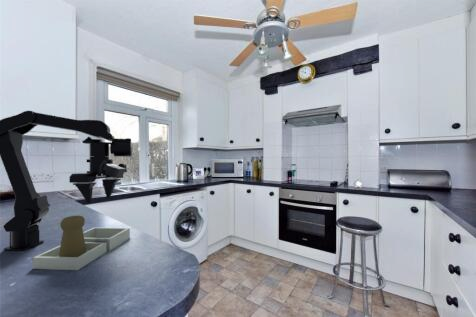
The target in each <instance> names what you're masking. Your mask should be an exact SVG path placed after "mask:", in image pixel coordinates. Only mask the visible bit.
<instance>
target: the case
mask: <svg viewBox="0 0 476 317" xmlns="http://www.w3.org/2000/svg"><path fill="white" fill-rule="evenodd" d="M130 228H131V227H103V226H101V227H92V228H90V229H87V230H85V231H83V235H84V241H85V242H105V243H107V252H108V251H109V252H111V251H112V250H113V249H115V248H116V247H118V246H119V245H121V244H123V243H125V242H126V241H127V240H129V239H130V238H131V234H130V232H131V231H130V230H131V229H130Z"/></svg>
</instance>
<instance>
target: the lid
mask: <svg viewBox="0 0 476 317" xmlns="http://www.w3.org/2000/svg"><path fill="white" fill-rule="evenodd" d="M60 247H61V244H59V245H58V246H55V247H53V248H51V249H49V250H47V251H44V252H42V253H40V254H38V255H36V256H33V257H32V270H33V269H34V270H58V271H59V270H61V271H64V270H65V271H79V270H80V269H82V268H84V267H85V266H87V265H89V264H90V263H92V262H93V261H95V260H96V259H98V258H100V257H101V256H103V255H104V254H106V253H107V252H108V251H107V243H105V242H85V247H86V253H84V254H83V255H81V256H79V257H59V253H60Z"/></svg>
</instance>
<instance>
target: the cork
mask: <svg viewBox="0 0 476 317" xmlns="http://www.w3.org/2000/svg"><path fill="white" fill-rule="evenodd" d="M85 224H86V222H85V217H84V216H83V215H70V216H67V217H66V216H65V217H64V218H63V219H62V220H61V221H60V229H61V230H62V236H61V242H60V245H61V247H60V253H59V257H79V256H81V255H83V254H84V253H86V247H85V241H84V235H83V232H84V230H83V227H84V225H85Z"/></svg>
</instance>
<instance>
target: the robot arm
mask: <svg viewBox="0 0 476 317" xmlns="http://www.w3.org/2000/svg"><path fill="white" fill-rule="evenodd" d="M37 126H43V127H50V128H54V129H55V128H56V129H60V130H61V129H62V130H67V131H73V132H74V131H75V132H79V133H83V134H85V135H89V136H87V137H86V138H85V139H84V140H82V143H83V144H85V145H89V159H86V163H89V170H88V171H86V172H79V173H78V172H76V173H71V175H70V176H69V180H68V181H69V182H68V183H69V184H70V183H71V184H72V185H73V186H75V188H77V189H78V190H79V192H80V193H81V195H82V197H83V199H84V200H85V202H86V203H87V204H91V203H92V201H93V200H92V199H93V189H94V187H95V185H96V184H97V182H95V181H96V180H99V179H102V180H101V181H102V185H103V188H104V193H105V196H106V199H111V196H112V194H113V190H114V189H115V186H116V184H117V183H118V182H119V181H121V180H122V179H121V178H123V179H124V174H125V173H127V172H128V168H127V164H125V163H124V162H123V163H118V164H116V163H113V161H114V160H112V159H110V154H111V155H113V157H117V158H118V157H122V158H123V157H124V158H126V157H129V158H130V157H131V158H132V156H133V147H132V139H131V138H115V136H114V135H113V134H112V133H111V128H110V126H109V125H108V124H106V123H105V122H104V121H102V120H98V119H74V118H67V117H63V116H57V115H51V114H45V113H41V112H35V111H32V110H25V111H22V112H21V113H18V114H16V115H15V114H14V115H12V116H8V117H4V118H1V119H0V159H1V162H2V165H3V167H4V170H5V172H6V175H7V178H8V180H9V183H10V186H11V188H12V191H13V193H14V196H15V199H14V202H13V214H14V216H13V217H12V218H11V219H10V220H8V221H7V222H6V223H4V224H3V229H4V231H5V232H6V233H9V245H8V246H6V247H4V248H3V251H24V250H27V249H30V248H32V247H35V246H37V245H40V244H42V243H44V240H40V230H39V229H40V225H39V224H40V223H42V220H43V218H44V217H46V216H47V215H48V213H49V212H50V207H51V204H50V203H49V201H48V196H47V195H46V194H45V195H40V193H38V192H37V190H36V188H35V185H34V183H33V180H32V177H31V174H30V170H29V168H28V167H27V164H26V161H25V160H26V159H25V158H24V156H23V153H22V148H23V142H24V141H23V139H24V138H23V136H24V135H25V134H28V133H29V132H31V131H32V130H33V129H34V128H36V127H37ZM90 136H92V137H95V138H96V139H95V138H92V137H90ZM102 139H104V140H105V141H103V140H102Z"/></svg>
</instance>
